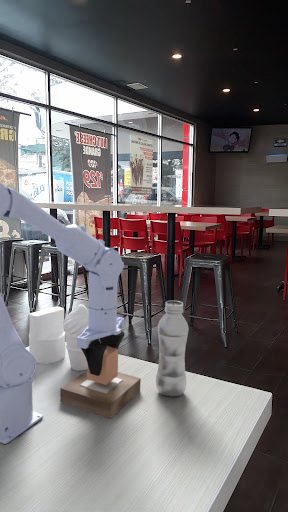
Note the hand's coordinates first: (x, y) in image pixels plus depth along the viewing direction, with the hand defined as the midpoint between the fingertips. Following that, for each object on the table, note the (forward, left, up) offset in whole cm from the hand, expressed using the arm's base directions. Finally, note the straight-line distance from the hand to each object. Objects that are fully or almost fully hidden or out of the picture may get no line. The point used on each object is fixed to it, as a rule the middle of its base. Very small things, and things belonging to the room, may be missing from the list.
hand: (101, 369), depth 82 cm
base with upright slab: (+10, +23, -6) cm, 26 cm away
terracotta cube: (0, 0, -2) cm, 2 cm away
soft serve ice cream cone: (+9, +12, -6) cm, 16 cm away
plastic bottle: (+9, -12, -6) cm, 16 cm away
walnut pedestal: (0, 0, -6) cm, 6 cm away
